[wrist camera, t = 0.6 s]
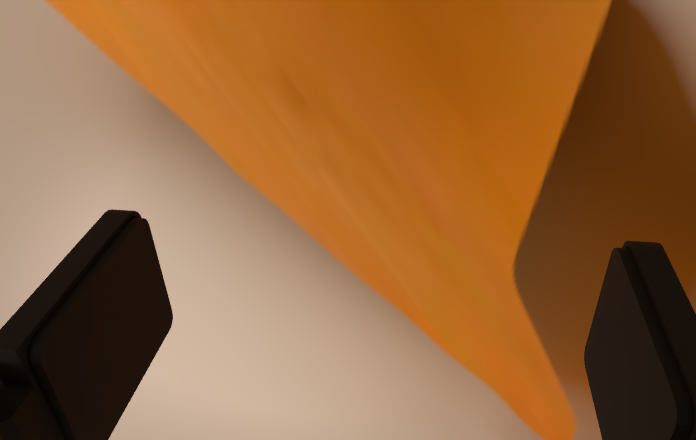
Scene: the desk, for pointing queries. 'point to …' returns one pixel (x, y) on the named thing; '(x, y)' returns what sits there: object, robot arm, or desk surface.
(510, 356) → the desk surface
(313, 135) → the desk surface
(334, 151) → the desk surface
